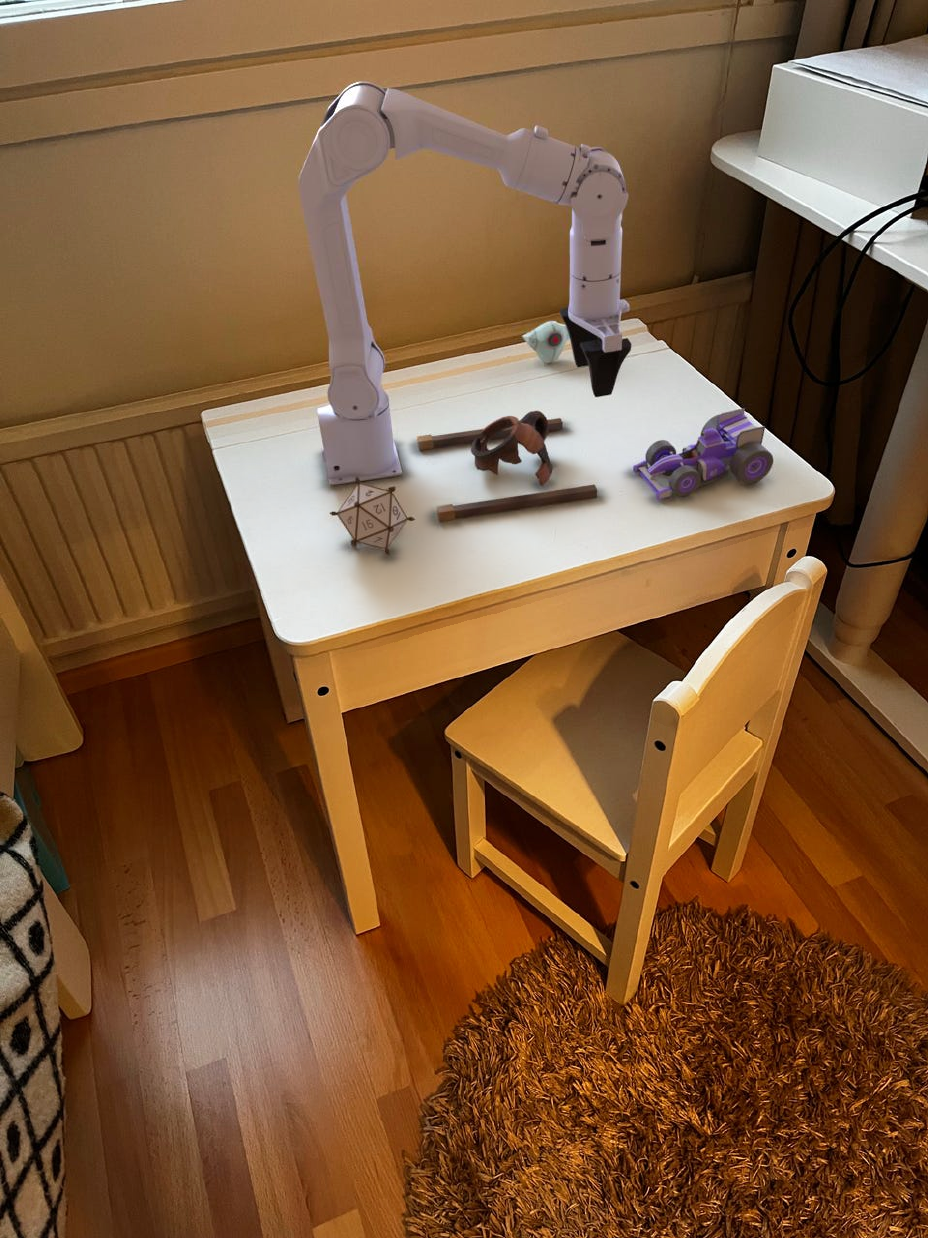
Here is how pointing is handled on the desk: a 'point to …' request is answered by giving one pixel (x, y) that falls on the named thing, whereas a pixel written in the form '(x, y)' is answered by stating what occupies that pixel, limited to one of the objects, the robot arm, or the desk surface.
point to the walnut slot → (504, 503)
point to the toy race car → (709, 456)
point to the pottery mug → (514, 444)
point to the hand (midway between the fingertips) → (593, 379)
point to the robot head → (548, 340)
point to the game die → (372, 516)
